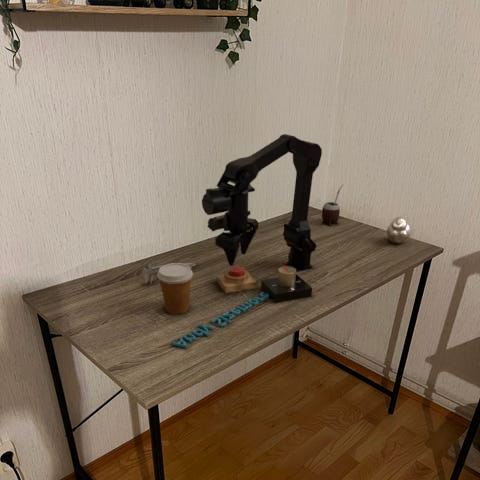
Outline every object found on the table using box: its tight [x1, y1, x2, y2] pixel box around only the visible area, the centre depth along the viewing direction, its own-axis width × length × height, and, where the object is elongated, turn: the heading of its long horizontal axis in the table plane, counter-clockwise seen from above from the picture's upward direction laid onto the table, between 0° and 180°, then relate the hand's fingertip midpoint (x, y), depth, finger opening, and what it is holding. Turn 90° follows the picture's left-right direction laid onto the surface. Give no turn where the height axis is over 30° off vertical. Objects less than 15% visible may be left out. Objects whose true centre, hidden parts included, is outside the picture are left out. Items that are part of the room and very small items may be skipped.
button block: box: [216, 269, 257, 294], centre depth 151 cm, size 10×8×4 cm
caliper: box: [142, 262, 197, 285], centre depth 156 cm, size 20×1×6 cm, turn 136°
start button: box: [228, 265, 245, 277], centre depth 149 cm, size 4×4×2 cm
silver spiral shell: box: [386, 216, 413, 244], centre depth 181 cm, size 9×10×10 cm
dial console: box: [260, 273, 313, 304], centre depth 147 cm, size 12×10×3 cm
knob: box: [277, 265, 297, 288], centre depth 145 cm, size 5×5×5 cm
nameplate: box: [170, 291, 269, 349], centre depth 133 cm, size 37×1×5 cm
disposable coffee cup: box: [156, 262, 194, 315], centre depth 135 cm, size 10×10×12 cm
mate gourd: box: [321, 183, 344, 227], centre depth 198 cm, size 8×8×15 cm
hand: (237, 259), depth 147 cm, fingers open, 9 cm apart
